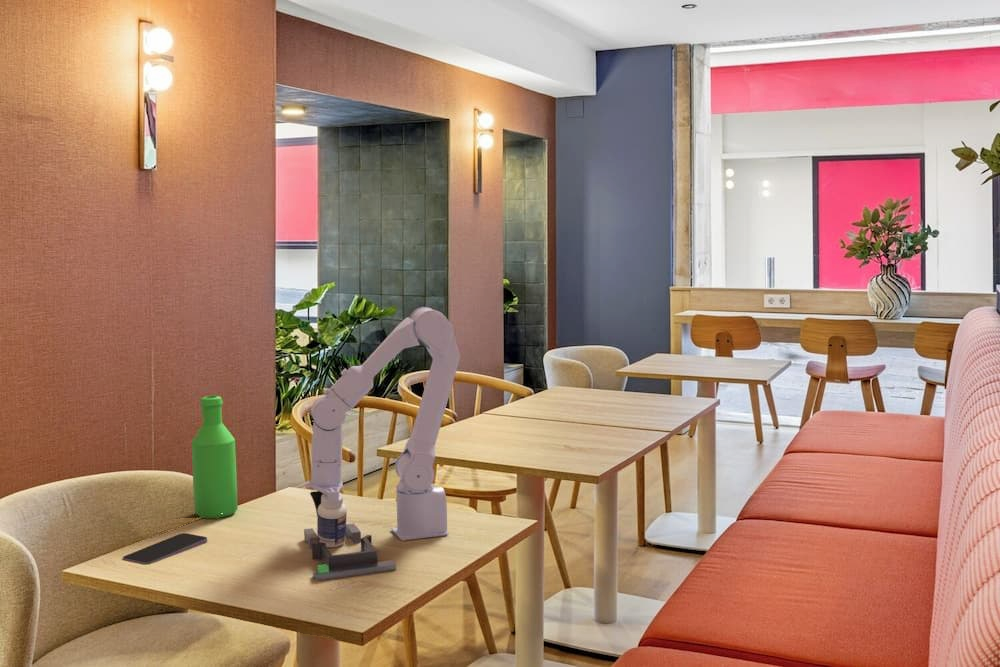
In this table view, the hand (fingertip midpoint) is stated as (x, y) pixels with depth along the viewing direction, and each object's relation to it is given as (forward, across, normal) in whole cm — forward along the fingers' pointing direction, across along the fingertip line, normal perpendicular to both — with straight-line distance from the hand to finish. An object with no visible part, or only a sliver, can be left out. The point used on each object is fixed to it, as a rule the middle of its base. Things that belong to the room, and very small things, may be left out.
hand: (325, 529), depth 187 cm
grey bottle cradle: (+2, +14, +2) cm, 15 cm away
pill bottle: (+2, +2, +1) cm, 3 cm away
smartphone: (+4, -6, -29) cm, 30 cm away
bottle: (+4, -27, -18) cm, 33 cm away
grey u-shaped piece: (+2, 0, +1) cm, 3 cm away
